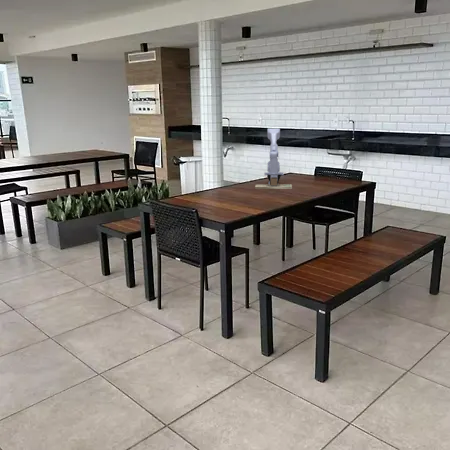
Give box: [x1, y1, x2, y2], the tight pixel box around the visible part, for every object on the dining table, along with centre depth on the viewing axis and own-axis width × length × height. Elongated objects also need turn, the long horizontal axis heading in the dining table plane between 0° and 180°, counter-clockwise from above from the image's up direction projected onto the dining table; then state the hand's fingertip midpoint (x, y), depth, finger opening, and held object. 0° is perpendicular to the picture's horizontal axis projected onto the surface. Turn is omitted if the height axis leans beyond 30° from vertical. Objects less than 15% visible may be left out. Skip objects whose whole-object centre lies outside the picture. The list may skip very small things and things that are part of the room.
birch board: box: [254, 184, 293, 190], centre depth 368 cm, size 10×28×2 cm, turn 84°
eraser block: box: [271, 177, 277, 187], centre depth 367 cm, size 7×5×6 cm
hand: (273, 184), depth 367 cm, fingers closed on eraser block, 5 cm apart
